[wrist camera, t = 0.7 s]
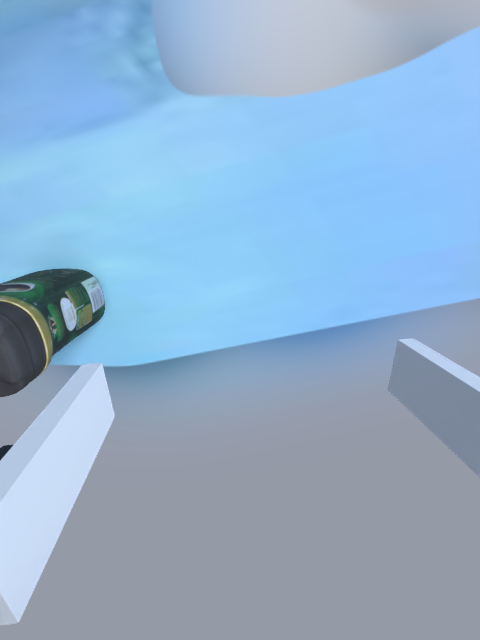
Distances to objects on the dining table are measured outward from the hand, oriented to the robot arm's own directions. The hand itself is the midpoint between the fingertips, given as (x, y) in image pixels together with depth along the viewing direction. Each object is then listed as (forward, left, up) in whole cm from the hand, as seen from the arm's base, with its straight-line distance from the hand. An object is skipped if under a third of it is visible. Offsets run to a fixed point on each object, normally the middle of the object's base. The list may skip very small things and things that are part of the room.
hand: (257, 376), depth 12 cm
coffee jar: (0, -21, -27) cm, 34 cm away
